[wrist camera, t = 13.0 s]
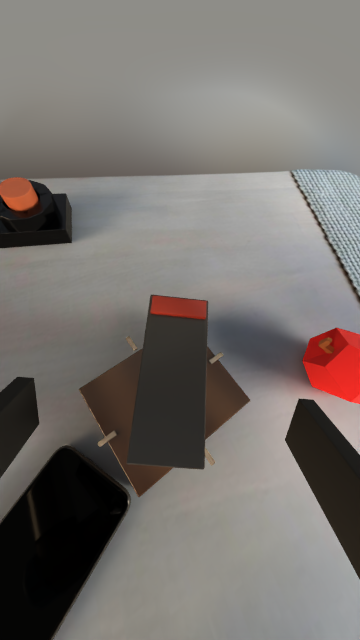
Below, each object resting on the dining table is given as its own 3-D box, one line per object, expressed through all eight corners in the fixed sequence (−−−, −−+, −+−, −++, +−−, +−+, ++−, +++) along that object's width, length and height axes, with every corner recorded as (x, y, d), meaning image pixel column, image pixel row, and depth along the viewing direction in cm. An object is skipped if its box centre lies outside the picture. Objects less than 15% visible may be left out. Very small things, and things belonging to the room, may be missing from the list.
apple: (431, 362, 20) (374, 304, 19) (402, 433, 19) (337, 376, 17) (352, 355, 27) (305, 312, 25) (326, 407, 25) (274, 364, 24)
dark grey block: (182, 451, 18) (205, 470, 9) (140, 448, 18) (125, 465, 9) (188, 350, 21) (209, 298, 13) (152, 346, 21) (150, 291, 13)
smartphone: (65, 439, 20) (-122, 681, 14) (62, 440, 19) (-138, 696, 13) (136, 495, 19) (-34, 787, 13) (136, 498, 18) (-46, 809, 12)
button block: (-1, 248, 28) (-24, 221, 24) (5, 211, 30) (-16, 181, 26) (71, 243, 29) (59, 216, 25) (71, 208, 31) (60, 179, 28)
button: (5, 213, 25) (-5, 198, 24) (9, 192, 27) (-1, 177, 25) (38, 211, 26) (30, 196, 24) (39, 191, 27) (32, 176, 25)
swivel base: (145, 513, 18) (143, 529, 16) (73, 383, 22) (61, 376, 19) (255, 414, 22) (269, 412, 19) (179, 317, 26) (181, 303, 23)
